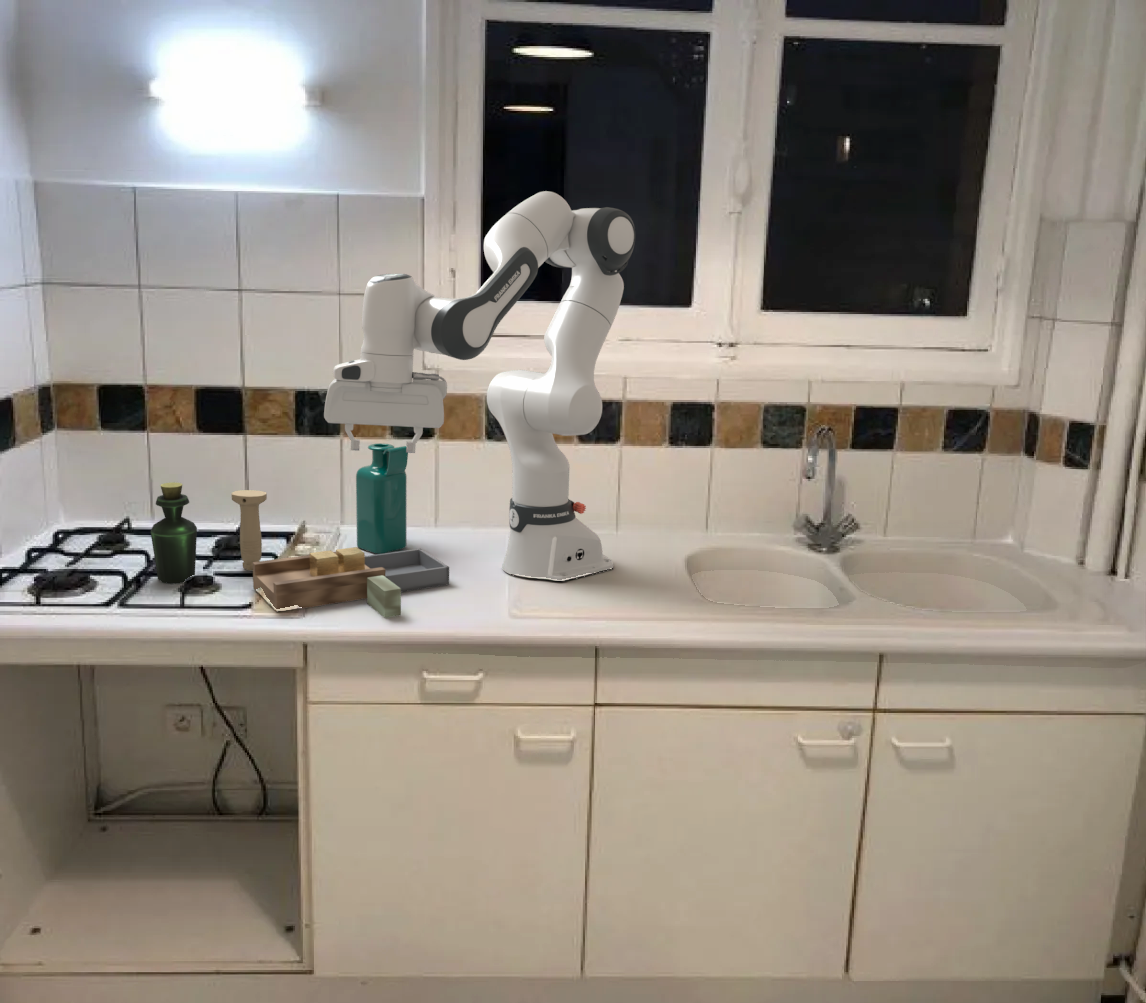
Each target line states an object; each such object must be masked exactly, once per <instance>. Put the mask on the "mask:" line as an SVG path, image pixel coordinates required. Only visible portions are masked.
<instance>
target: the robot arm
mask: <svg viewBox="0 0 1146 1003" xmlns="http://www.w3.org/2000/svg"><path fill="white" fill-rule="evenodd" d="M635 229H636V227H635V224H634V221H633V220H632V217H631V216H630V215H629V214H628V213H627V212H625V211H623V210H621V209H619V208H614V207H608V206H606V207H601V208H599V207H589V208H588V207H586V208H584V207H583V208H578V209H573V210H572V209H571V207H570V205H569V204H568V202H567V200H566V199H564V198H563V197H562V196H561V195H559V194H558V193H556V192H554V191H547V190H545V191H544V190H543V191H539V192H537V193H535V194H534V195H532V196H530V197H528V198H526V199H524V200H523V201H522V202H520V203H518V204H517V205H516V206H514V207H513V208H512V209H511V210H509V211H508V212H506V213H505V215H503V216H502V217H501V218H500V219H498V221H496V222H495V223H494V225H492V226H491V228H490V229H489V231H488V232H487V234H485V237H484V239H483V252H484V253H483V254H484V257H485V260H486V263H487V264H488V266H489V268H490V270H491V271H492V274H491V275H490V276H489V277H488V279H487V280H486V281H485V282H484V283H483V284H482V286H481V287H480V288H479V289H478V290H477V291H476V292H475V293H473V294H472V295H469V296H466V297H458V298H449V297H441V296H435V294H432V293H431V292H428V290H425V289H424V288H423V287H421V286H420V285H419V284H418V283H417V282H416V281H415V280H414V278H413V276H411V275H410V274H407V273H386V274H379V275H375V276H373V277H372V278H370V279H369V280H368V282H367V284H366V287H365V290H364V295H363V299H362V313H361V330H362V334H363V341H362V344H361V347H360V358H358V359H355V360H349V361H347V362H343V363H342V362H341V363H338V364H336V365H335V366H334V367H333V369H332V370H333V371H332V374H333V377H334V379H333V380H332V381H331V382H330V383H329V385H328V388H327V392H326V396H325V403H324V412H323V418H324V419H325V421H326V422H327V423H328V424H342V425H344V431H345V432H346V434H347V436H348V438H349V441H350V451H360V445H361V440H360V438H355V437H354V434H353V432H352V431H353V430H354V425H364V426H365V425H366V426H367V425H368V426H384V427H387V426H388V427H407V428H408V427H409V428H410V427H411V428H413V432H414V436H413V438H412V440H411V441H409V440H408V441H406V446H407V447H406V452H407V453H408V454H416V444H417V443H418V441H419V440H420V438H421V437H422V435H423V433H424V431H423V430H424V428H429V429H431V428H433V429H440V428H441V427H442V426H443V425H444V422H445V410H444V409H445V408H444V401H443V400H444V399H445V398H446V396H447V395H448V392H447V391H448V383H447V380H446V379H445V378H444V377H442V376H440V374H438V373H424V372H415V371H413V370H414V369H413V368H414V367H413V366H414V351H415V350H417V351H421V352H426V353H427V352H428V353H431V354H436V355H441V356H442V355H443V356H447V357H450V358H453V359H457V360H461V361H469V360H471V359H474V358H476V357H478V356H479V355H480V354H482V352H484V351H485V349H486V348H487V346H488V345H489V343H490V341H491V339H492V336H493V335H494V334H495V331H496V329H497V327H498V326H499V324H500V323H501V321H502V320H503V319H504V317H506V316H507V315H508V313H509V311H511V309H513V307H514V305H515V304H516V303H517V302H518V301H519V300H520V298H521V297H522V296H523V295H524V294H525V292H526V291H527V290H528V288H530V286H531V285H532V283H533V282H534V280H535V279H536V277H537V275H538V271H539V268H540V267H541V266H542V265H543V264H544V262H545V263H546V264H549V265H551V266H552V267H556V268H560V269H564V268H571V280H570V283H569V286H568V288H567V289H566V291H565V293H564V294H563V296H562V299H561V301H559V304H558V306H557V308H556V310H555V313H554V315H553V316H552V319H551V320H550V323H549V325H548V326H547V328H546V331H545V332H544V336H543V337H544V338H543V342H544V347H545V348H546V350H547V352H548V353H549V355H550V356H551V360H550V365H549V368H548V370H547V371H546V372H543V373H542V372H540V371H539V372H538V371H534V370H533V371H532V370H526V369H514V370H507V371H501V372H499V373H497V374H495V376H494V377H493V378H492V380H491V381H490V382H489V385H488V388H487V391H486V403H487V408H488V410H489V412H490V413H491V414H492V415H493V417H494V418H495V419H496V420H497V422H498V423H499V425H500V427H501V430H502V432H503V434H504V437H505V439H506V442H507V445H508V449H509V454H510V457H511V458H510V460H511V466H512V467H511V469H512V470H511V471H512V472H511V473H512V474H511V475H512V476H511V479H512V481H511V482H512V485H511V486H512V487H511V490H512V491H511V494H512V495H511V496H512V497H511V498H510V500H509V508H508V509H509V515H508V518H509V528H510V529H509V534H508V535H509V536H508V543H507V548H506V553H505V557H504V559H503V563H502V566H501V568H502V570H503V571H504V572H505V573H507V574H509V575H511V574H519V575H525V576H531V577H546V578H551V579H557V580H562V579H566V578H571V577H576V576H578V575H583V574H586V573H594V572H599V571H602V570H606V569H610V568H613V569H614V562H613V561H612V559H611V558H609V557H608V556H606V555H604V554H603V547H602V546H603V545H602V542H601V538H600V537H599V536H598V534H597V533H596V532H595V531H593V530H592V529H591V528H590V527H588V526H587V525H586V524H584V523H583V522H582V521H581V520H580V519H578V518H577V516H576V513H578V514H580V515H581V514H582V515H583V514H585V511H586V509H587V507H586V505H585V504H584V503H581V502H580V501H576V502H575V501H573V500H571V499H570V498H569V495H570V494H569V490H570V488H569V487H570V469H571V468H570V462H569V460H568V458H567V456H566V455H565V453H563V451H561V449H560V448H559V447H558V445H557V443H556V441H555V438H554V435H559V436H563V437H565V436H568V437H569V436H583V435H587V434H590V433H591V432H592V431H593V430H594V429H596V427H597V425H598V424H599V422H600V420H601V417H602V415H603V400H602V397H601V394H600V392H599V390H598V388H597V387H596V383H595V369H596V363H597V359H598V357H599V355H600V352H601V350H602V347H603V345H604V342H606V338H607V336H608V335H609V332H610V330H611V328H612V325H614V324H613V323H614V321H615V318H616V316H617V314H618V311H619V308H620V305H621V300H622V298H623V294H624V289H625V287H624V286H625V283H624V280H623V278H622V276H621V274H620V273H621V272H623V271H624V270H625V268H626V267H628V263H629V260H630V258H631V256H632V253H633V251H634V248H635V243H636V236H637V234H636V230H635ZM553 434H554V435H553ZM575 512H576V513H575ZM599 573H600V572H599Z"/></svg>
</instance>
